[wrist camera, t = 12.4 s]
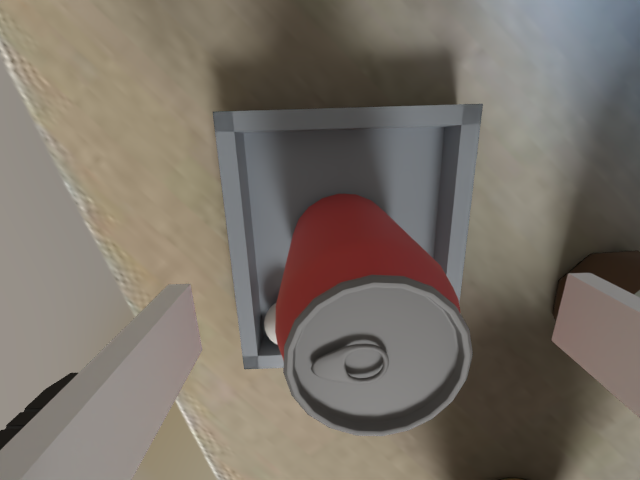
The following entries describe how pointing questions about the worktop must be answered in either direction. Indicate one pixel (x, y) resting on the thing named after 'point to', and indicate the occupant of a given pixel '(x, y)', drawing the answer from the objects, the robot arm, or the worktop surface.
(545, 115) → the worktop surface
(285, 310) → the beer can
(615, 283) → the beer bottle
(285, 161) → the tray
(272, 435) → the worktop surface
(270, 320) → the ball
